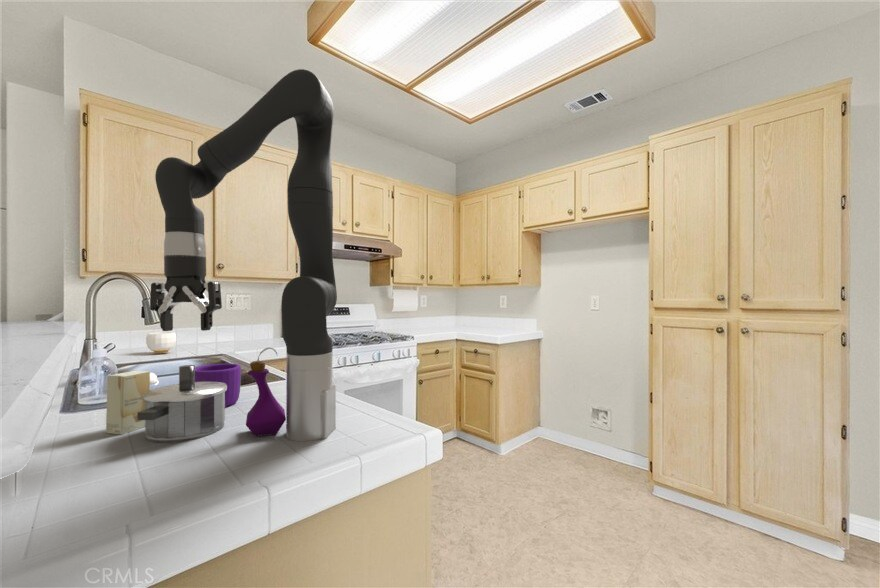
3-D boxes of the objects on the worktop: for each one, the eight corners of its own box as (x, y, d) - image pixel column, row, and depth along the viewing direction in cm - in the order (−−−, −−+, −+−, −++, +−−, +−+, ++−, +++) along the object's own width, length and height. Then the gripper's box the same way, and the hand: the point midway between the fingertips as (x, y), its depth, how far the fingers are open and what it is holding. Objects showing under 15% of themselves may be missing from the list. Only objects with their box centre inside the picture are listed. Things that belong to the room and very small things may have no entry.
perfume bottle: (245, 440, 76) (245, 350, 76) (247, 428, 82) (247, 346, 82) (286, 435, 79) (286, 348, 79) (284, 423, 86) (284, 344, 86)
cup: (139, 353, 187) (139, 333, 187) (161, 349, 199) (161, 331, 199) (161, 354, 185) (161, 334, 185) (182, 350, 197) (182, 331, 197)
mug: (246, 404, 101) (246, 367, 101) (196, 414, 93) (196, 373, 93) (227, 392, 113) (227, 359, 113) (182, 399, 105) (182, 363, 105)
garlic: (160, 385, 123) (160, 373, 123) (133, 388, 118) (133, 376, 118) (156, 381, 129) (156, 369, 129) (130, 384, 124) (130, 372, 124)
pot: (246, 414, 92) (246, 381, 92) (181, 451, 70) (181, 408, 70) (190, 413, 93) (190, 381, 93) (109, 450, 71) (109, 407, 71)
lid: (240, 389, 89) (240, 360, 89) (200, 408, 74) (200, 373, 74) (175, 389, 89) (175, 360, 89) (123, 408, 74) (123, 373, 74)
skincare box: (121, 435, 78) (121, 376, 78) (104, 434, 79) (105, 375, 79) (151, 425, 85) (151, 370, 85) (135, 423, 86) (135, 369, 86)
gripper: (228, 256, 85) (229, 328, 85) (167, 257, 86) (168, 329, 86) (205, 252, 77) (207, 332, 77) (139, 254, 78) (140, 332, 78)
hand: (186, 330), depth 81 cm, fingers open, 8 cm apart
